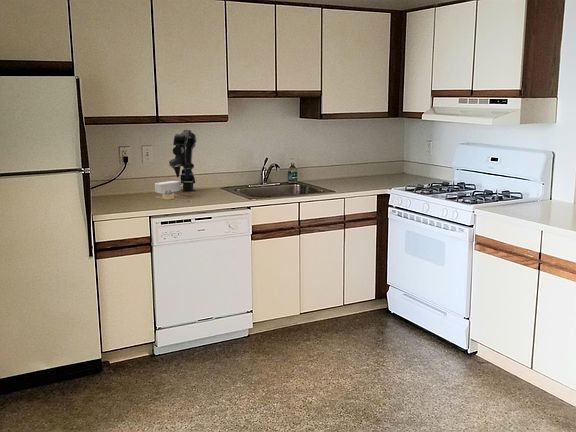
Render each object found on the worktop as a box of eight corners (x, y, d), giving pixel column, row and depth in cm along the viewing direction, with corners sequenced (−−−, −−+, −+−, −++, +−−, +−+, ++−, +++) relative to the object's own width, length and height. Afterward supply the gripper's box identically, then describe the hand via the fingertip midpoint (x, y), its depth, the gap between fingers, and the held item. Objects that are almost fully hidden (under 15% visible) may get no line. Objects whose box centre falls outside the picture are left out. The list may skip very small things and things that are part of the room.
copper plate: (180, 194, 385) (180, 192, 385) (195, 197, 374) (195, 195, 374) (154, 198, 371) (154, 196, 371) (169, 201, 360) (169, 200, 360)
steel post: (169, 197, 368) (168, 189, 367) (172, 198, 365) (172, 190, 364) (164, 198, 365) (164, 190, 364) (167, 199, 363) (167, 191, 362)
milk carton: (154, 183, 386) (178, 180, 399) (155, 193, 387) (178, 190, 400) (160, 184, 381) (184, 181, 394) (160, 195, 382) (184, 191, 395)
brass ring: (169, 196, 370) (169, 192, 370) (176, 198, 365) (176, 193, 365) (160, 198, 365) (159, 193, 364) (167, 199, 360) (166, 195, 360)
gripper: (162, 153, 373) (163, 177, 376) (179, 156, 360) (180, 181, 363) (176, 152, 381) (177, 176, 384) (194, 154, 368) (194, 179, 371)
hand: (182, 178), depth 375 cm, fingers open, 9 cm apart
